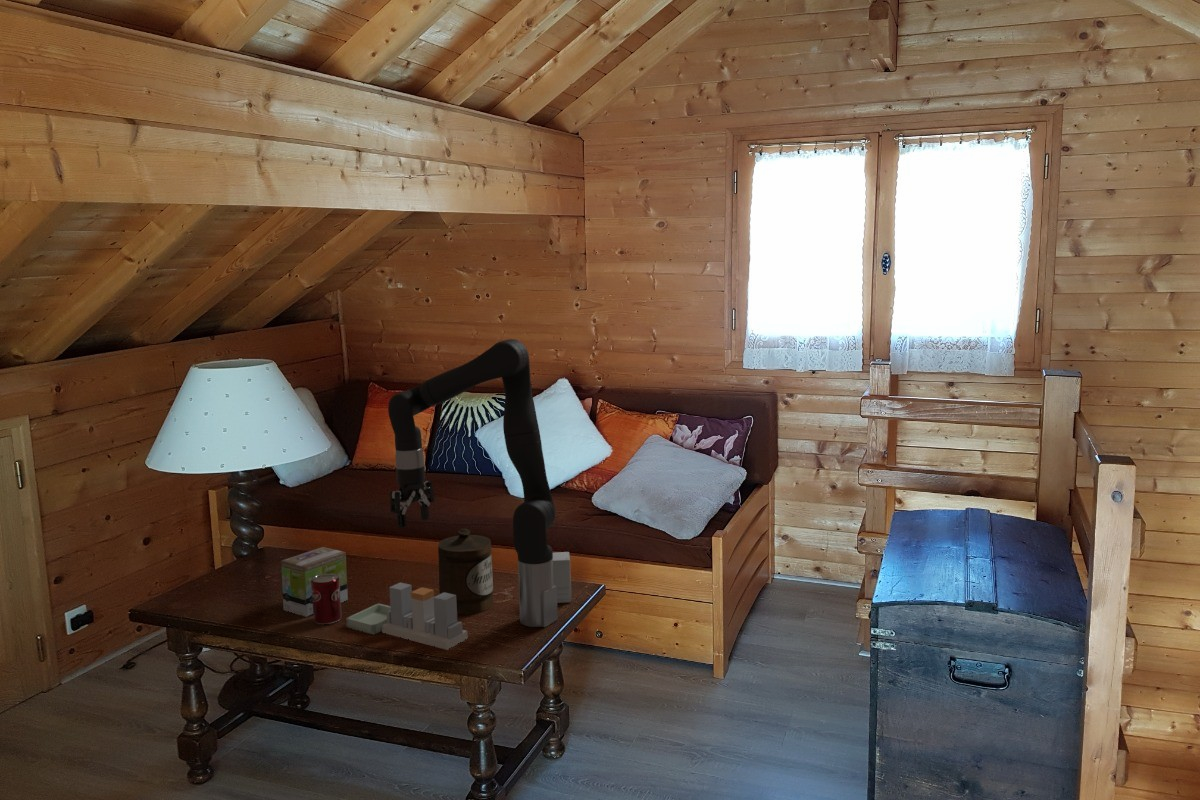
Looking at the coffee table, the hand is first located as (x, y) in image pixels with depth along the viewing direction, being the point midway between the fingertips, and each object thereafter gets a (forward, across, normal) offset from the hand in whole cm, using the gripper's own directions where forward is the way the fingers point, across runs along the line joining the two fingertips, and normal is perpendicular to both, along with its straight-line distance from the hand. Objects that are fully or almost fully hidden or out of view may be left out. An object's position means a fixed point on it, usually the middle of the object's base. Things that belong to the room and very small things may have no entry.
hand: (414, 523), depth 253 cm
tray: (+25, -12, +5) cm, 28 cm away
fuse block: (+25, -12, -12) cm, 30 cm away
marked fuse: (+23, -12, -12) cm, 29 cm away
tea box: (+25, -12, +29) cm, 40 cm away
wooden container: (+26, +10, -8) cm, 29 cm away
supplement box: (+26, +27, -27) cm, 46 cm away
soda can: (+25, -17, +18) cm, 35 cm away
